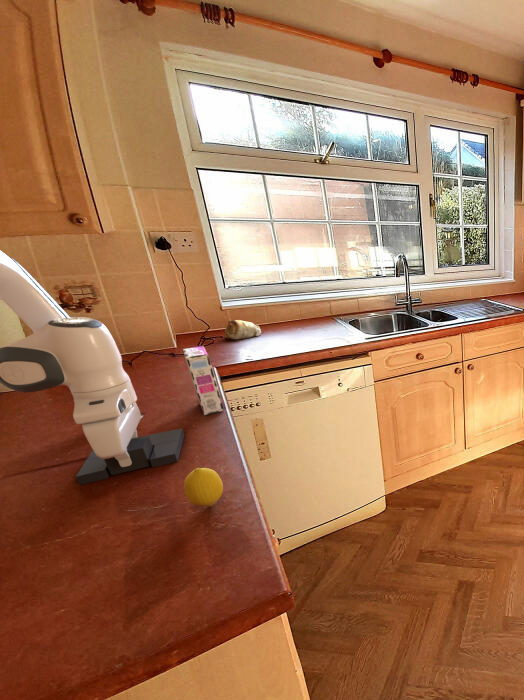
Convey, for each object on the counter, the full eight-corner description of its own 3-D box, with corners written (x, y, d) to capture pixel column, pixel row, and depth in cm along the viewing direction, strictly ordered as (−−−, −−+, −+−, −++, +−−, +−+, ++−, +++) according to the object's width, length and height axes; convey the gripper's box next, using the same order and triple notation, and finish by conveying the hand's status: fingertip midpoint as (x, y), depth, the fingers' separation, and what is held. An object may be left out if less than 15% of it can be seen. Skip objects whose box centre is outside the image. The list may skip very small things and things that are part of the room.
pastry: (218, 340, 183) (213, 322, 180) (237, 332, 194) (232, 315, 191) (250, 340, 182) (245, 322, 179) (267, 332, 194) (262, 315, 191)
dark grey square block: (111, 475, 87) (102, 456, 85) (118, 461, 92) (110, 443, 90) (150, 466, 90) (142, 447, 88) (155, 452, 95) (148, 435, 93)
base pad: (79, 485, 84) (75, 476, 84) (98, 453, 96) (95, 446, 95) (177, 461, 92) (174, 453, 91) (184, 435, 103) (182, 428, 102)
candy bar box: (226, 410, 116) (208, 354, 110) (204, 416, 113) (185, 358, 107) (220, 398, 124) (203, 344, 117) (199, 403, 121) (181, 348, 115)
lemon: (186, 508, 77) (172, 471, 74) (219, 492, 81) (207, 456, 78) (200, 519, 74) (186, 481, 71) (233, 502, 78) (221, 465, 75)
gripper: (99, 384, 92) (122, 440, 97) (69, 420, 76) (99, 484, 81) (136, 378, 95) (157, 432, 100) (115, 412, 79) (141, 474, 84)
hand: (131, 456), depth 90 cm, fingers closed on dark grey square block, 6 cm apart
